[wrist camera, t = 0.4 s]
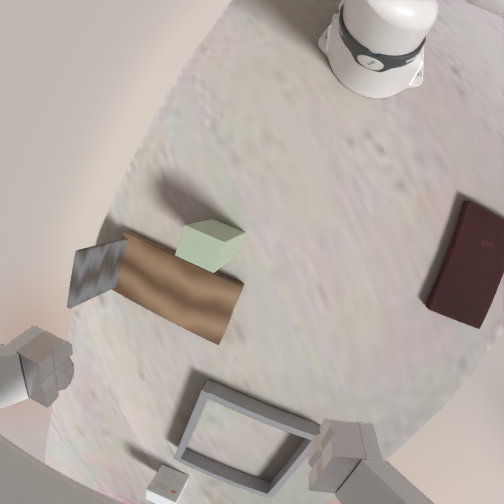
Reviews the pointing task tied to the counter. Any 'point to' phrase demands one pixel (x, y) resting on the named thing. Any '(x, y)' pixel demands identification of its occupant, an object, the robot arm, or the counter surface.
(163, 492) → the small box
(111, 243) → the bookend
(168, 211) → the counter surface
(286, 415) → the gray square frame
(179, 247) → the sage green box
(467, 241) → the book
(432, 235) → the counter surface
